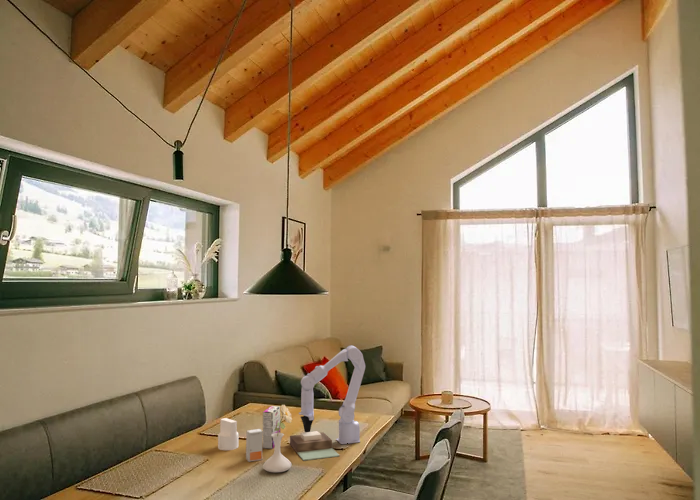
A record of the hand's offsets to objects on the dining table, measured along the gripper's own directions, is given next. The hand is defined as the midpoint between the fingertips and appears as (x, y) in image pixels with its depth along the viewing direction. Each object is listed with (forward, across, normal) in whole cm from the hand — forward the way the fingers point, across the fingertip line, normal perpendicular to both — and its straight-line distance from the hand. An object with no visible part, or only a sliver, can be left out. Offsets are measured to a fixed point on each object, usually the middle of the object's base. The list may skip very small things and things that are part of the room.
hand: (307, 432), depth 245 cm
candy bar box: (+5, -3, -16) cm, 17 cm away
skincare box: (+5, +14, -27) cm, 31 cm away
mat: (+5, +18, 0) cm, 18 cm away
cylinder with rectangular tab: (+5, -7, -35) cm, 36 cm away
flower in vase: (+5, +29, -20) cm, 35 cm away
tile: (+1, +6, 0) cm, 6 cm away
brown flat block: (+5, +6, 0) cm, 8 cm away
